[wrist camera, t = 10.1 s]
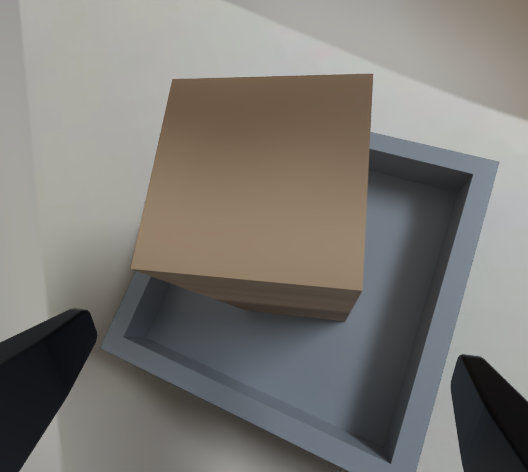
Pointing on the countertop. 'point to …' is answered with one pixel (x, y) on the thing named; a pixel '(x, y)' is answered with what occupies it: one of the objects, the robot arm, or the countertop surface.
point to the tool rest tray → (335, 323)
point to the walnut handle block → (262, 193)
